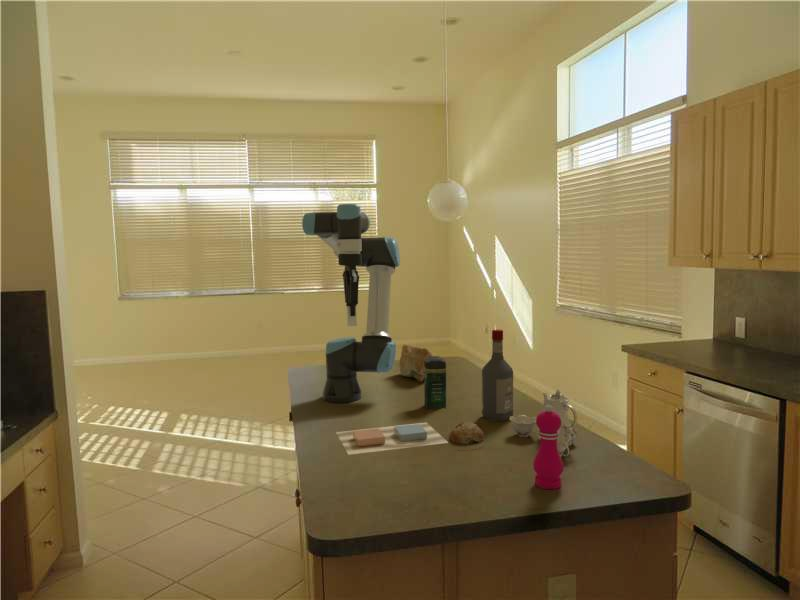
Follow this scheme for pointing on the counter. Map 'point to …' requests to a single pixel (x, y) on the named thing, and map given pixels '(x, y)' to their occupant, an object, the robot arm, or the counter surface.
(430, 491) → the counter surface
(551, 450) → the pepper mill
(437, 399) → the coffee jar
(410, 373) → the rough brown rock
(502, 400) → the liquor
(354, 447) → the board
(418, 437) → the tile blue
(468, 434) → the bread roll
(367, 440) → the pink square tile
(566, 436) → the chinaware
